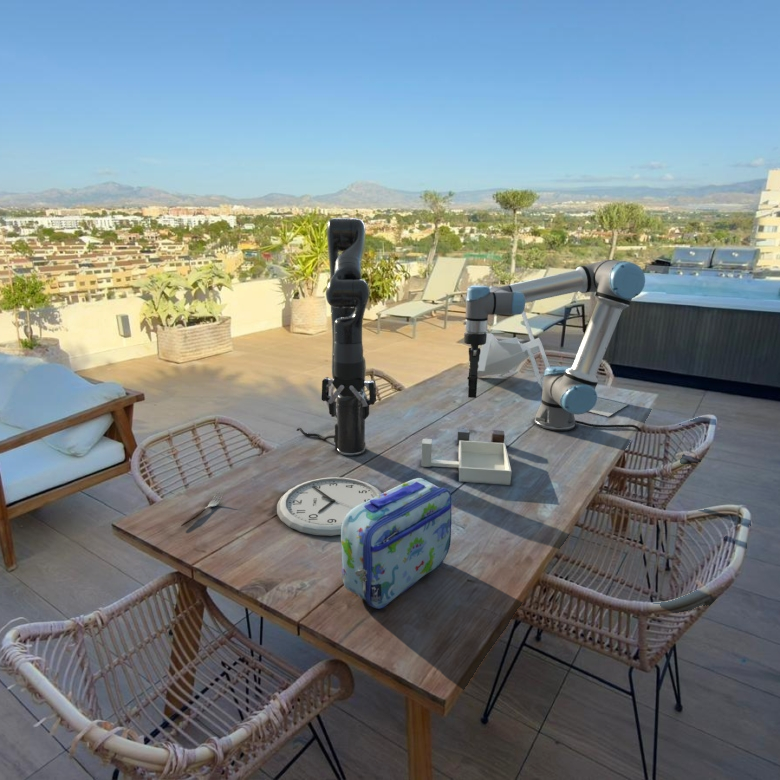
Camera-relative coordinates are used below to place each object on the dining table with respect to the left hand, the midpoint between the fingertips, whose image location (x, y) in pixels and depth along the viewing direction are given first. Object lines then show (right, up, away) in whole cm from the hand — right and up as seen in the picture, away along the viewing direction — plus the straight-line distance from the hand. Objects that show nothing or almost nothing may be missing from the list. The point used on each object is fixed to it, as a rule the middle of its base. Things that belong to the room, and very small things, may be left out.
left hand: (349, 417), depth 139 cm
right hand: (+40, +7, +45) cm, 61 cm away
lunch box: (+13, -34, -26) cm, 45 cm away
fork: (-39, -25, -1) cm, 46 cm away
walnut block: (+49, -12, +45) cm, 67 cm away
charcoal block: (+37, -12, +46) cm, 60 cm away
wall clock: (-5, -24, +4) cm, 25 cm away
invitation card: (+102, 0, +87) cm, 134 cm away
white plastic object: (+69, +10, +119) cm, 138 cm away
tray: (+35, -17, +28) cm, 48 cm away
